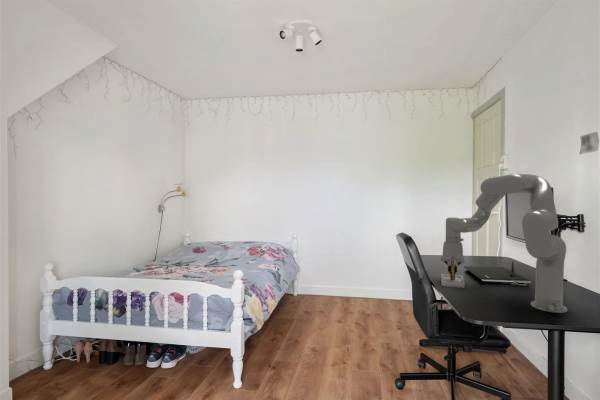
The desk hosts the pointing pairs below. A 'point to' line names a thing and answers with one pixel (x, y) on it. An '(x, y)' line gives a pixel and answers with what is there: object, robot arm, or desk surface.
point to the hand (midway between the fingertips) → (452, 273)
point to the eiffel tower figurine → (513, 277)
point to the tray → (452, 281)
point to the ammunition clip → (452, 270)
